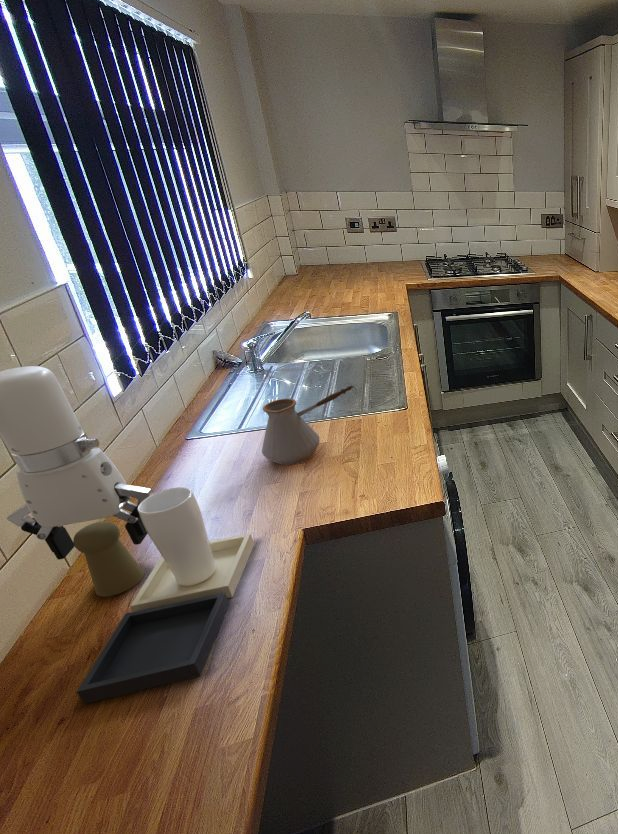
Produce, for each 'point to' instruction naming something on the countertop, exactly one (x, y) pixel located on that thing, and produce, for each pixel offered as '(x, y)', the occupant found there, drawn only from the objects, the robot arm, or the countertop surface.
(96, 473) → the robot arm
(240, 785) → the countertop surface
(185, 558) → the drinking glass
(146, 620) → the charcoal tray
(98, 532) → the cork
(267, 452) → the coffee pot
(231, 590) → the cream tray
